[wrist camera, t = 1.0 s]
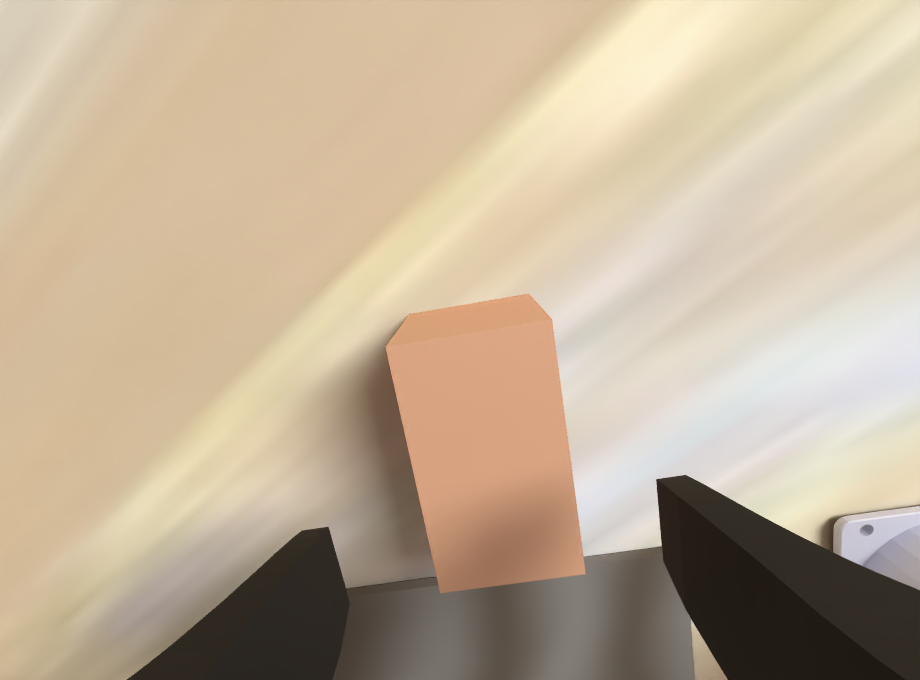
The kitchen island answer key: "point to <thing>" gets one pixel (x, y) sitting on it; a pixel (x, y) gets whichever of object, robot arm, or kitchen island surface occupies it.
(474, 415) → the block
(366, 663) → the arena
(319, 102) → the kitchen island surface
